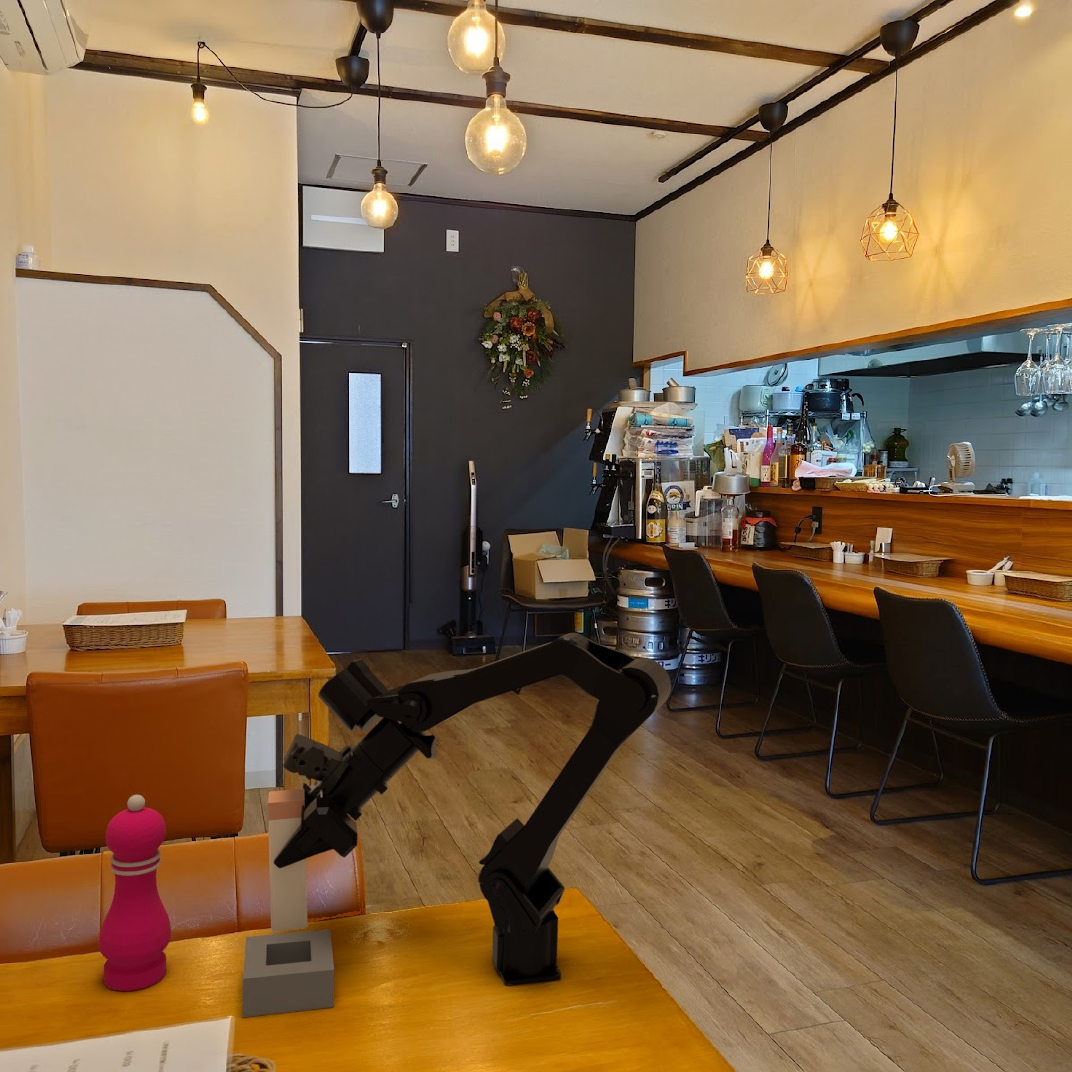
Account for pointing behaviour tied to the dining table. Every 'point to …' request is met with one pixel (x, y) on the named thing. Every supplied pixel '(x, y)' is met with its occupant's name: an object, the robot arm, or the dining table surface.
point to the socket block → (288, 973)
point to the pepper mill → (135, 901)
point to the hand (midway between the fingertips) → (277, 857)
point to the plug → (290, 879)
